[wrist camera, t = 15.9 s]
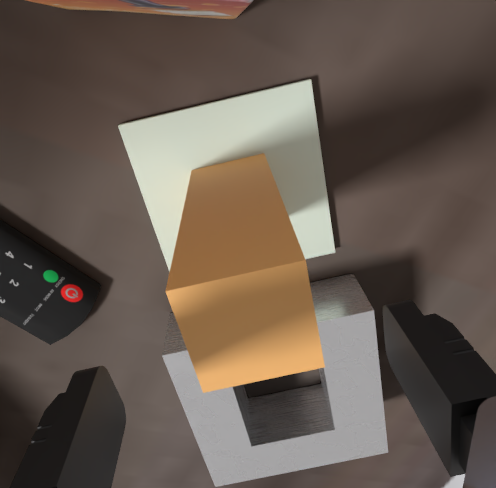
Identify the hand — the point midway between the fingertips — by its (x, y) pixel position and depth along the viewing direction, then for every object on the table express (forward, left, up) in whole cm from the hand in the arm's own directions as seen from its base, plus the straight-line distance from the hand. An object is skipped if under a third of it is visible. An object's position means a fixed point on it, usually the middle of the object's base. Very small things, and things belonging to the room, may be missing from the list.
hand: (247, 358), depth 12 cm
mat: (0, 0, -13) cm, 13 cm away
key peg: (0, 0, -13) cm, 13 cm away
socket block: (0, -13, -13) cm, 18 cm away
